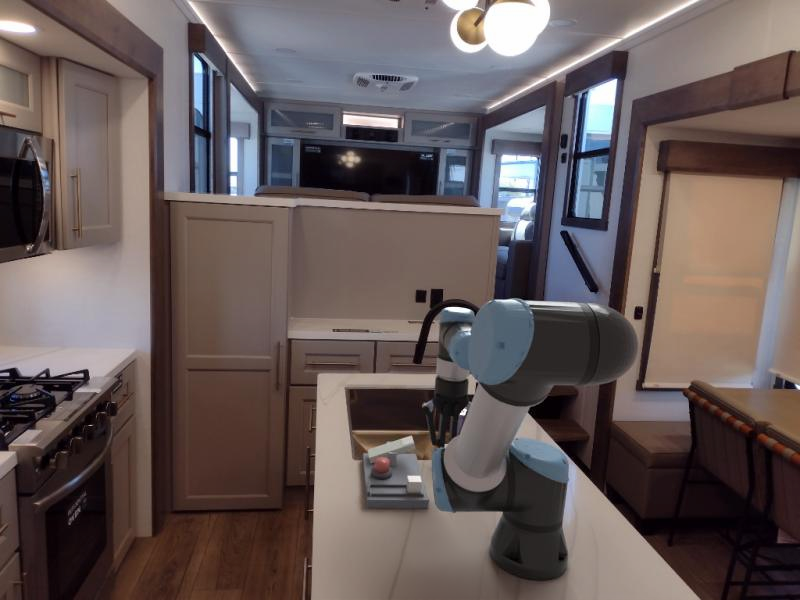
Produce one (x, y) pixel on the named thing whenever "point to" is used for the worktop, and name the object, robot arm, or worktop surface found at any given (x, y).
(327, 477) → the worktop surface
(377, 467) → the button
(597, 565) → the worktop surface
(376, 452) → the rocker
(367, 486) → the console
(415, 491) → the slider knob
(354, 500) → the worktop surface
